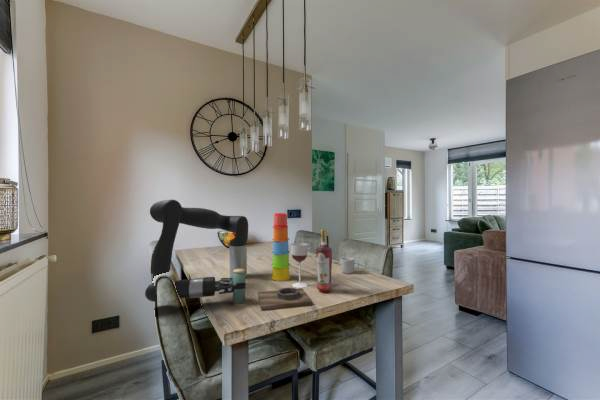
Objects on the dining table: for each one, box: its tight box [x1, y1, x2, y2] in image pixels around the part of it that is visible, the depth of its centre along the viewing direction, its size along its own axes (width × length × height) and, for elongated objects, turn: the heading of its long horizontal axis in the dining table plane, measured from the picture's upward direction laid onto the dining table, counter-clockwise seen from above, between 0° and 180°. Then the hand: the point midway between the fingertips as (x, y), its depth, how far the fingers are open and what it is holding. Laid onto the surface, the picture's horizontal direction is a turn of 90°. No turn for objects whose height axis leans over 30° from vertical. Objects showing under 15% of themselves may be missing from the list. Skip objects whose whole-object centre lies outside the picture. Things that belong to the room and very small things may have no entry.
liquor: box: [315, 228, 333, 294], centre depth 122 cm, size 7×7×28 cm
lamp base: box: [257, 287, 313, 311], centre depth 111 cm, size 16×20×4 cm
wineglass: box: [290, 242, 309, 289], centre depth 130 cm, size 8×9×20 cm
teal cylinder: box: [232, 269, 246, 304], centre depth 111 cm, size 5×5×13 cm
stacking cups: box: [270, 212, 291, 282], centre depth 142 cm, size 10×10×35 cm
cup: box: [339, 256, 360, 275], centre depth 150 cm, size 11×8×8 cm
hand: (245, 283), depth 111 cm, fingers closed on teal cylinder, 5 cm apart
